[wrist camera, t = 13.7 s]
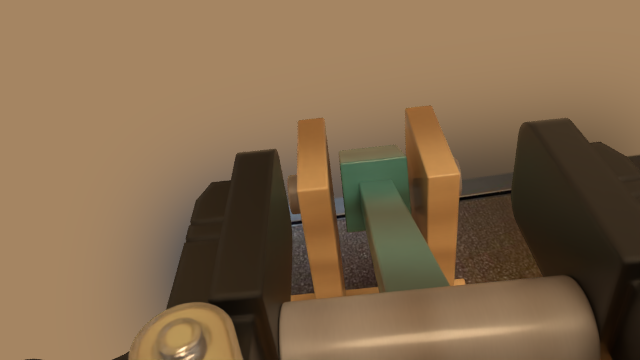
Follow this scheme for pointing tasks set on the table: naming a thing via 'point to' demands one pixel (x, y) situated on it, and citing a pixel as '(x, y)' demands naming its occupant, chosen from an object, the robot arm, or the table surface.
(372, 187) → the cylinder
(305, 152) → the rod stand
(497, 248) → the table surface
